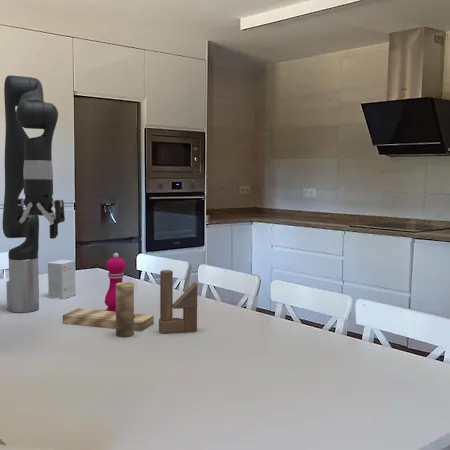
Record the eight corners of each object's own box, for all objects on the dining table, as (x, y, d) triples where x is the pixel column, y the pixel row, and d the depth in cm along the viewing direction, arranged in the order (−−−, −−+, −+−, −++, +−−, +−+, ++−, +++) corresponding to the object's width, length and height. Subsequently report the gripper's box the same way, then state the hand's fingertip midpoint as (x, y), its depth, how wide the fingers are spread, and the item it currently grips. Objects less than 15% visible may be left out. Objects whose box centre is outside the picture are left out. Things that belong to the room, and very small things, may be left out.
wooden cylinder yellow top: (112, 336, 159) (112, 285, 158) (125, 328, 167) (125, 280, 165) (129, 337, 158) (128, 286, 156) (141, 330, 165) (141, 281, 164)
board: (62, 323, 172) (62, 314, 171) (78, 316, 180) (78, 308, 180) (141, 331, 164) (141, 322, 164) (153, 323, 173) (153, 314, 173)
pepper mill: (130, 311, 187) (129, 251, 185) (124, 317, 180) (123, 254, 178) (108, 310, 188) (108, 251, 186) (101, 316, 180) (101, 254, 178)
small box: (61, 293, 212) (61, 259, 211) (76, 295, 210) (75, 260, 209) (47, 298, 205) (47, 262, 203) (62, 299, 202) (62, 263, 201)
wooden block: (197, 331, 165) (197, 270, 163) (160, 334, 162) (160, 272, 160) (194, 328, 168) (195, 268, 166) (158, 330, 165) (158, 269, 164)
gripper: (6, 177, 150) (8, 237, 152) (53, 178, 146) (54, 240, 148) (24, 177, 157) (25, 234, 159) (69, 177, 153) (70, 237, 155)
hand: (39, 237), depth 153 cm, fingers open, 8 cm apart
